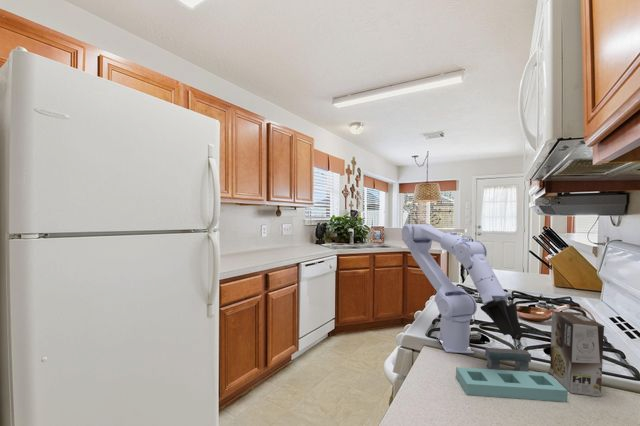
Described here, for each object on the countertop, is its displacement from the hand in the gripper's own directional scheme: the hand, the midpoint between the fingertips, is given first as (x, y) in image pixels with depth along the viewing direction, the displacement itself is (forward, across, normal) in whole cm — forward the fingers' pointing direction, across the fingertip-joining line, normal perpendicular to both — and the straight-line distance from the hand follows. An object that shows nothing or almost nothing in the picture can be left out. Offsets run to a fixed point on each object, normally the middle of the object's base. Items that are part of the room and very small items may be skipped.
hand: (513, 334), depth 73 cm
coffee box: (+12, +14, -4) cm, 19 cm away
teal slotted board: (+10, +1, +7) cm, 12 cm away
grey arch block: (+6, +9, +7) cm, 13 cm away
